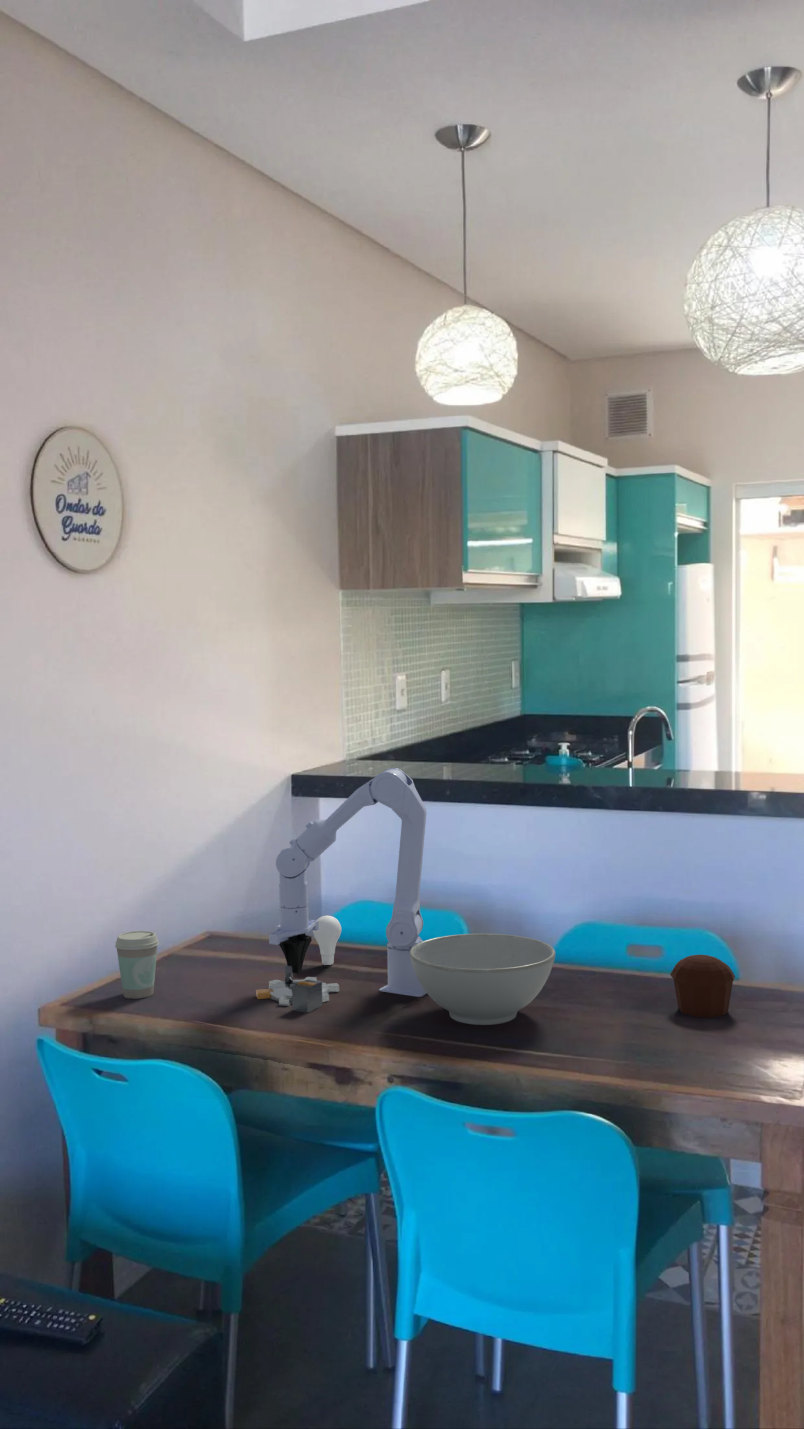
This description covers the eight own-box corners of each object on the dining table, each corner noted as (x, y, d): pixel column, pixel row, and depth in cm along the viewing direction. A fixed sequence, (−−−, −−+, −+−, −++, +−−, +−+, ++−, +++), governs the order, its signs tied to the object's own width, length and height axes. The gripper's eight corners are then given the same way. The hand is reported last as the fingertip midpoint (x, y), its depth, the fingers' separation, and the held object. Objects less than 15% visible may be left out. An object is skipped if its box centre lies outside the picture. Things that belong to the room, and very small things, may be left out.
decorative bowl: (515, 988, 237) (514, 928, 236) (583, 1026, 212) (582, 959, 211) (389, 1004, 227) (388, 942, 227) (444, 1046, 202) (443, 976, 202)
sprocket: (354, 988, 237) (353, 965, 237) (308, 1010, 223) (308, 985, 223) (288, 979, 245) (288, 956, 245) (241, 999, 231) (240, 975, 231)
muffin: (744, 1007, 221) (743, 954, 221) (723, 1023, 212) (723, 968, 212) (683, 998, 228) (682, 946, 228) (660, 1013, 219) (660, 959, 218)
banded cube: (322, 1007, 226) (321, 980, 226) (307, 1014, 222) (306, 987, 221) (307, 1005, 228) (307, 978, 227) (292, 1012, 223) (291, 985, 223)
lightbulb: (338, 970, 252) (337, 919, 252) (310, 969, 253) (309, 918, 253) (344, 963, 258) (343, 913, 258) (317, 962, 259) (316, 912, 259)
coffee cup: (128, 1003, 231) (126, 942, 230) (109, 994, 237) (107, 935, 237) (168, 995, 236) (166, 935, 235) (147, 986, 243) (146, 928, 242)
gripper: (298, 897, 248) (299, 961, 248) (256, 910, 235) (257, 978, 236) (326, 900, 244) (327, 965, 245) (285, 914, 232) (286, 983, 232)
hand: (295, 972), depth 240 cm, fingers closed
